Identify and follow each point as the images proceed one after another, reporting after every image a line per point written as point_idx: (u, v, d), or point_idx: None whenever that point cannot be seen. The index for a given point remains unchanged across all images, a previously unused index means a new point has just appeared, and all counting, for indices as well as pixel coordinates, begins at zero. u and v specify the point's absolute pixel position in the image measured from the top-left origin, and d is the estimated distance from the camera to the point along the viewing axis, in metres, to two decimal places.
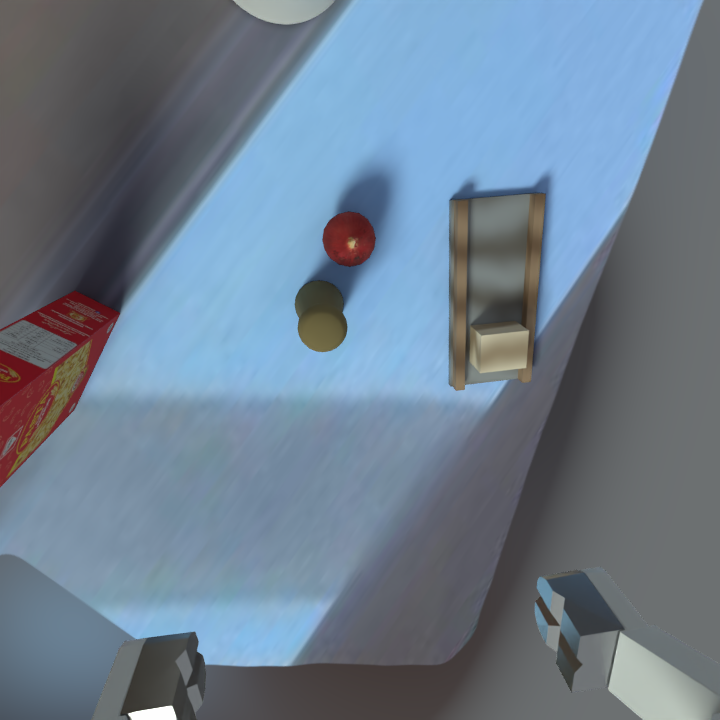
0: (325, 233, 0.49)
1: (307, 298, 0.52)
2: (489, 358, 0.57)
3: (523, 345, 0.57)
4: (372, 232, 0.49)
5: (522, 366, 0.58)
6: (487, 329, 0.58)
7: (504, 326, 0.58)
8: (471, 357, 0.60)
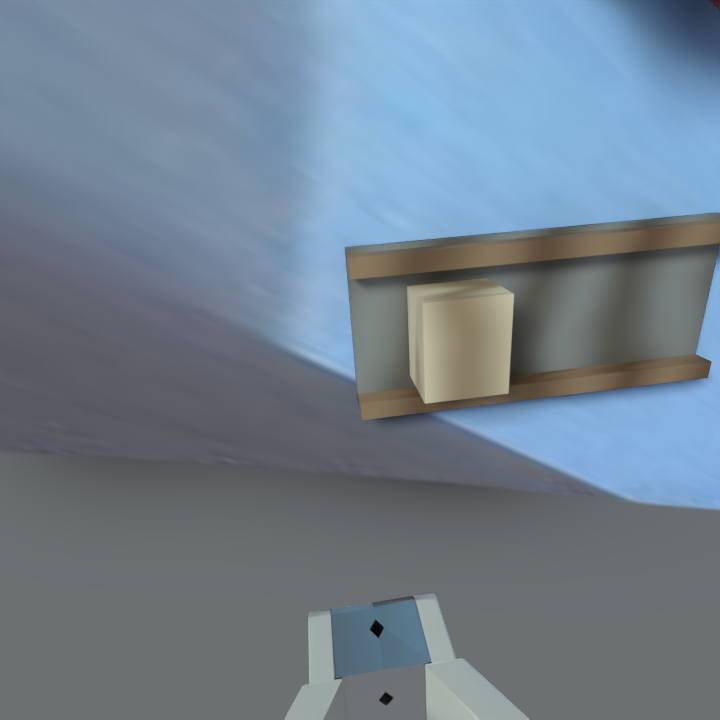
0: None
1: None
2: (456, 320, 0.25)
3: (477, 388, 0.27)
4: None
5: (429, 395, 0.26)
6: None
7: None
8: (423, 287, 0.27)
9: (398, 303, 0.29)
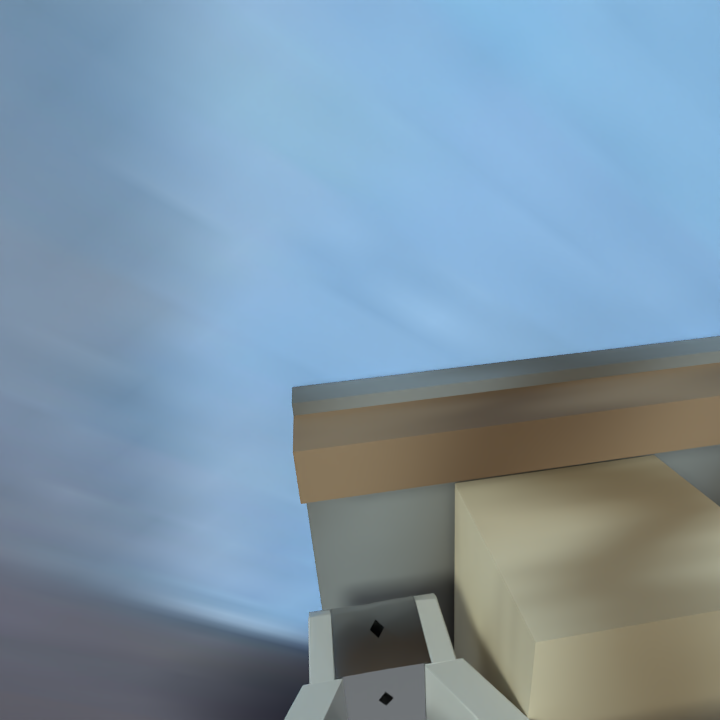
0: None
1: None
2: (635, 670, 0.08)
3: None
4: None
5: None
6: None
7: None
8: (502, 501, 0.10)
9: (430, 517, 0.11)
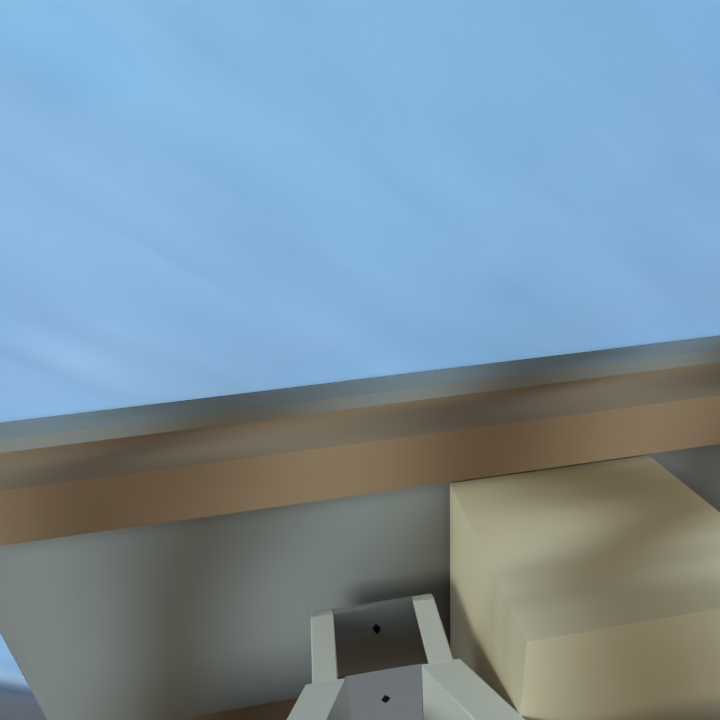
0: None
1: None
2: (628, 669, 0.08)
3: None
4: None
5: None
6: None
7: None
8: (496, 501, 0.10)
9: (106, 564, 0.11)
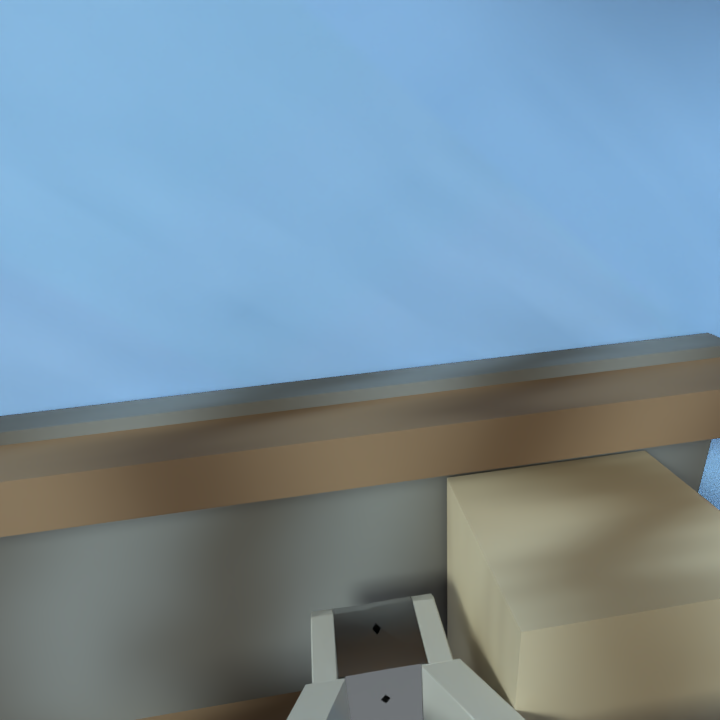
0: None
1: None
2: (621, 660, 0.08)
3: None
4: None
5: None
6: None
7: None
8: (493, 495, 0.10)
9: None
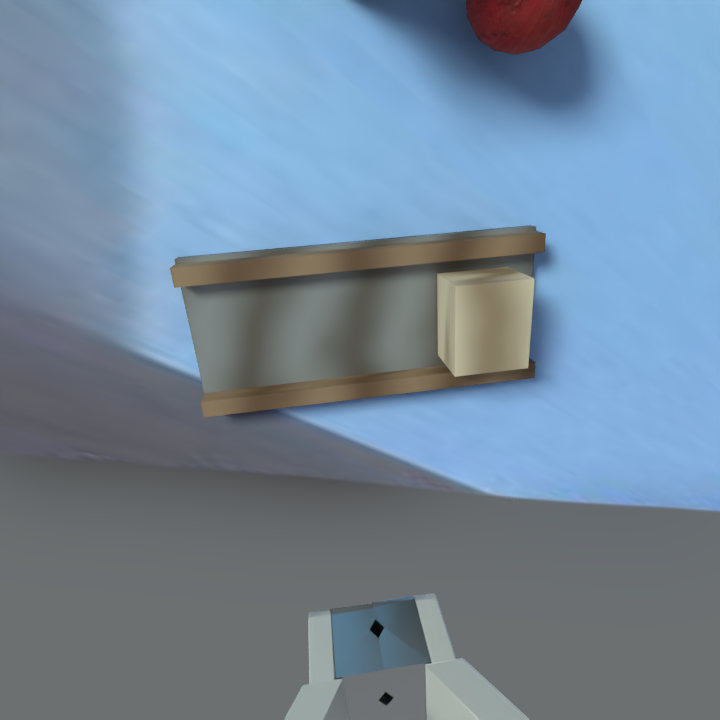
0: None
1: None
2: (484, 301, 0.28)
3: (500, 363, 0.30)
4: (547, 34, 0.23)
5: (458, 369, 0.30)
6: None
7: None
8: (452, 274, 0.31)
9: (231, 309, 0.31)
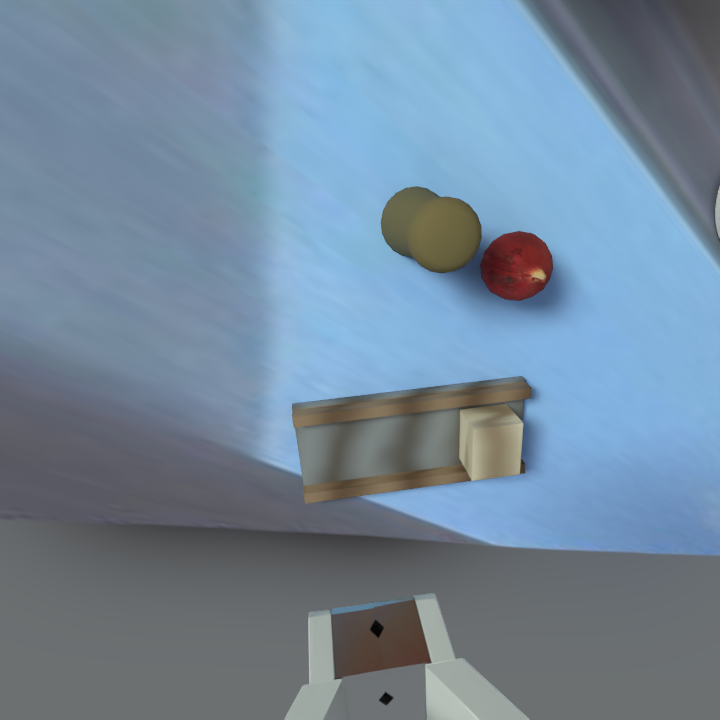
0: (533, 236, 0.38)
1: None
2: (491, 437, 0.45)
3: (501, 472, 0.46)
4: (529, 297, 0.40)
5: (474, 476, 0.46)
6: None
7: None
8: (470, 412, 0.47)
9: (325, 434, 0.47)
